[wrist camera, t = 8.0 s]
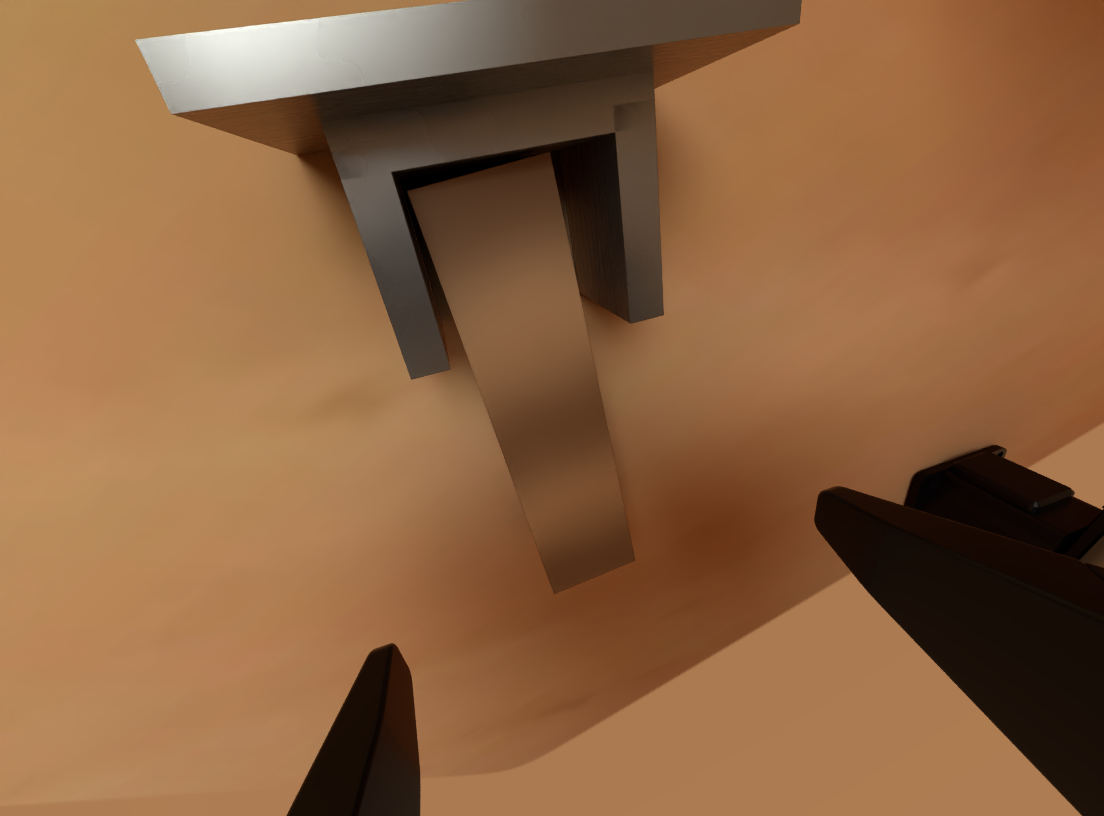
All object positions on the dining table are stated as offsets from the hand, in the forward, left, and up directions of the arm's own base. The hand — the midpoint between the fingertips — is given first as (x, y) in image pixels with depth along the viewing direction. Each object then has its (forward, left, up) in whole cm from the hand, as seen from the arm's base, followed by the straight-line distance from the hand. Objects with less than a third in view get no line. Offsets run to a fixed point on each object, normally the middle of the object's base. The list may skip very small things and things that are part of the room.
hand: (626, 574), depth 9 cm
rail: (0, 0, -10) cm, 10 cm away
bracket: (+6, 0, -10) cm, 12 cm away
